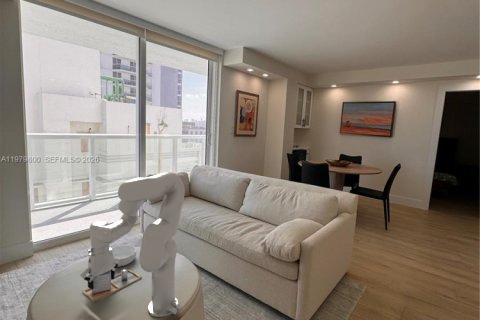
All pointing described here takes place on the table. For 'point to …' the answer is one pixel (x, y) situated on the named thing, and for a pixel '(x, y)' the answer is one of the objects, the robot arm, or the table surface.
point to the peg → (124, 275)
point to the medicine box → (102, 282)
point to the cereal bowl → (124, 254)
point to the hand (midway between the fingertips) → (101, 283)
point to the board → (113, 286)
